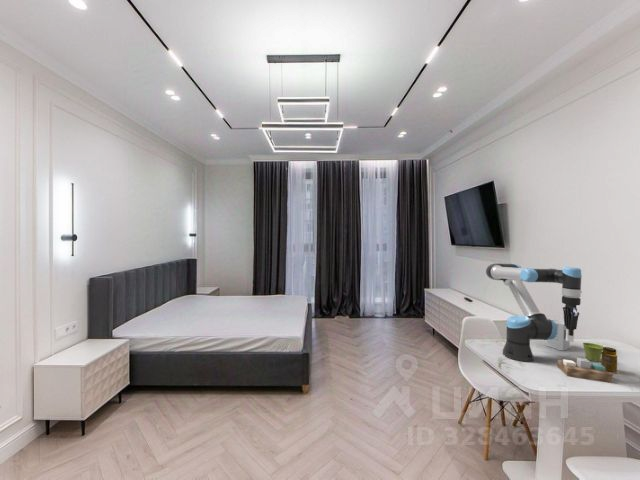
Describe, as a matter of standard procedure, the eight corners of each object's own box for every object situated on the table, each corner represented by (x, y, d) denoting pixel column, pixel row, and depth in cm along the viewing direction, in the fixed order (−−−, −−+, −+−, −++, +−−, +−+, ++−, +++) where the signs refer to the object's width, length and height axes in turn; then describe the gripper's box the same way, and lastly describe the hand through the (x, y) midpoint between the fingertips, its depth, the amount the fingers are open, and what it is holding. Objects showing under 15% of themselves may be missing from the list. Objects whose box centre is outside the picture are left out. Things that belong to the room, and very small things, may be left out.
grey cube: (580, 368, 151) (580, 360, 151) (576, 365, 155) (577, 357, 155) (590, 369, 150) (590, 362, 150) (586, 366, 154) (586, 359, 154)
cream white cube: (566, 369, 153) (566, 362, 153) (562, 366, 157) (563, 359, 157) (575, 371, 152) (575, 363, 152) (572, 368, 156) (572, 360, 156)
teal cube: (595, 374, 149) (595, 366, 149) (591, 370, 153) (591, 363, 153) (605, 375, 148) (605, 367, 148) (600, 372, 152) (600, 364, 152)
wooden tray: (567, 375, 150) (567, 368, 150) (557, 366, 161) (557, 359, 161) (612, 382, 144) (612, 374, 144) (598, 372, 155) (599, 365, 155)
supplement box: (563, 351, 186) (563, 324, 185) (546, 346, 194) (546, 320, 194) (569, 348, 190) (570, 322, 190) (553, 343, 198) (553, 319, 198)
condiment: (621, 373, 155) (622, 350, 155) (609, 374, 154) (610, 351, 154) (605, 367, 163) (605, 345, 163) (593, 368, 161) (594, 346, 161)
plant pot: (608, 364, 167) (608, 349, 167) (589, 362, 168) (589, 347, 168) (596, 357, 176) (596, 343, 176) (578, 356, 178) (578, 341, 178)
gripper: (586, 299, 147) (584, 346, 147) (574, 295, 159) (572, 338, 160) (567, 298, 150) (566, 344, 150) (557, 293, 162) (556, 336, 162)
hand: (569, 341), depth 155 cm, fingers closed
